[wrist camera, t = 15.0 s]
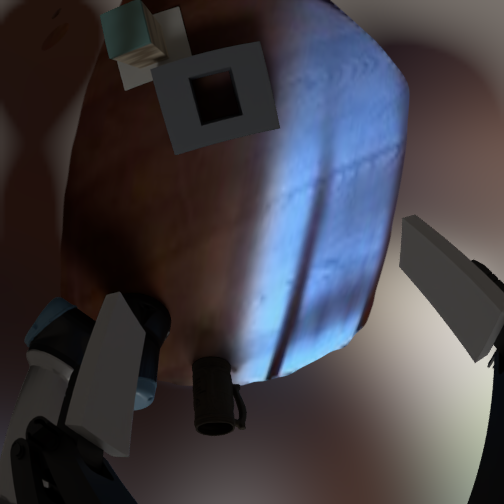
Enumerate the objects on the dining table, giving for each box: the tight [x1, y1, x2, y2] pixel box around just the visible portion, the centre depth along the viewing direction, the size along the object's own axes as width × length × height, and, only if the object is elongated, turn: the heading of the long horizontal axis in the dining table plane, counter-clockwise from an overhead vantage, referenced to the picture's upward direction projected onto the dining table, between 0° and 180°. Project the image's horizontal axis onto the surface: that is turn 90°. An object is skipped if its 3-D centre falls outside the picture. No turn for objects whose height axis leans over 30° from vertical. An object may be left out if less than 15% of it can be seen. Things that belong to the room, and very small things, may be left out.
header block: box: [150, 41, 280, 155], centre depth 38 cm, size 16×14×6 cm
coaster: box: [117, 7, 192, 91], centre depth 34 cm, size 12×12×1 cm
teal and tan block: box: [100, 0, 169, 69], centre depth 28 cm, size 5×6×15 cm
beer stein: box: [192, 357, 247, 436], centre depth 67 cm, size 15×11×20 cm
